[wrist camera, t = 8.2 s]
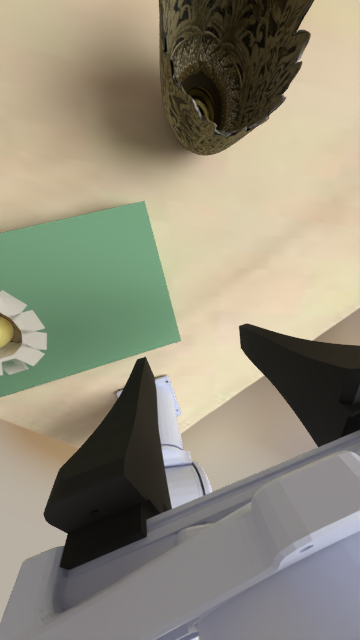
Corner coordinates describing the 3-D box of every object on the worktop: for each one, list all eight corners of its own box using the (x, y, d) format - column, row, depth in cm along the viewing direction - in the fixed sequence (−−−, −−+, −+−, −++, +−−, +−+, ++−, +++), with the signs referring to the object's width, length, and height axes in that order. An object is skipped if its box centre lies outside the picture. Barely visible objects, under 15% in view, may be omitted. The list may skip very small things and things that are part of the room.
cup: (147, 169, 15) (154, 102, 8) (151, 40, 12) (167, -249, 5) (222, 186, 17) (283, 144, 10) (241, 78, 14) (348, -96, 7)
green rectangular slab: (176, 329, 22) (181, 340, 20) (4, 381, 20) (-16, 402, 18) (143, 208, 16) (144, 200, 13) (-111, 265, 14) (-170, 270, 11)
